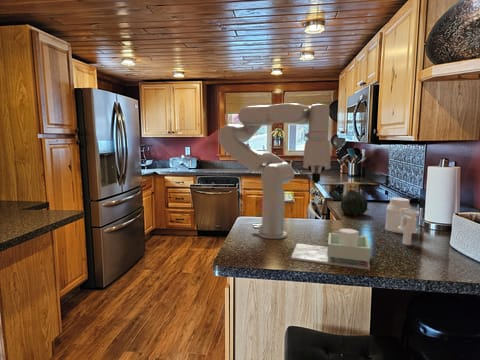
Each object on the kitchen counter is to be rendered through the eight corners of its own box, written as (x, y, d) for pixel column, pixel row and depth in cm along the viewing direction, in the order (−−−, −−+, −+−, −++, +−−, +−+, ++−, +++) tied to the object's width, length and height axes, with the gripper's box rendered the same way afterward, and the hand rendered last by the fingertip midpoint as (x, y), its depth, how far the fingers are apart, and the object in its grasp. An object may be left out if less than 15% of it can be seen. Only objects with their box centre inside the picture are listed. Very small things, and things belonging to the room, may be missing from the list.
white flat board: (290, 259, 111) (291, 257, 111) (296, 245, 126) (296, 243, 126) (370, 269, 103) (370, 267, 103) (366, 253, 118) (366, 251, 118)
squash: (377, 207, 175) (364, 185, 182) (357, 210, 169) (344, 187, 176) (361, 219, 186) (349, 198, 193) (342, 223, 179) (331, 200, 187)
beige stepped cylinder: (393, 241, 134) (396, 206, 132) (409, 241, 134) (412, 206, 132) (403, 246, 127) (406, 210, 125) (420, 246, 127) (423, 210, 125)
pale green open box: (326, 259, 108) (327, 243, 108) (328, 247, 121) (329, 232, 120) (369, 265, 104) (370, 248, 104) (366, 251, 117) (367, 236, 116)
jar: (389, 225, 159) (392, 196, 157) (410, 229, 153) (413, 198, 151) (383, 230, 150) (385, 199, 148) (405, 234, 144) (408, 202, 142)
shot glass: (347, 254, 108) (349, 234, 107) (333, 247, 114) (334, 229, 113) (361, 251, 111) (363, 231, 110) (347, 245, 117) (348, 227, 116)
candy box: (354, 204, 208) (355, 182, 206) (358, 206, 204) (359, 183, 202) (342, 205, 206) (343, 182, 205) (345, 206, 202) (347, 183, 200)
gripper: (297, 136, 121) (295, 183, 124) (338, 136, 117) (335, 185, 119) (299, 136, 128) (298, 181, 131) (338, 137, 124) (335, 183, 126)
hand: (315, 183), depth 125 cm, fingers closed
